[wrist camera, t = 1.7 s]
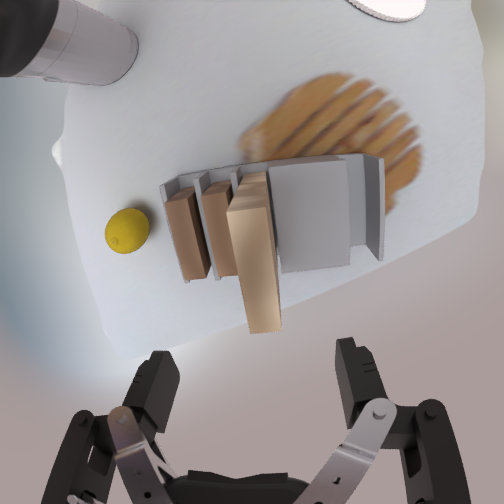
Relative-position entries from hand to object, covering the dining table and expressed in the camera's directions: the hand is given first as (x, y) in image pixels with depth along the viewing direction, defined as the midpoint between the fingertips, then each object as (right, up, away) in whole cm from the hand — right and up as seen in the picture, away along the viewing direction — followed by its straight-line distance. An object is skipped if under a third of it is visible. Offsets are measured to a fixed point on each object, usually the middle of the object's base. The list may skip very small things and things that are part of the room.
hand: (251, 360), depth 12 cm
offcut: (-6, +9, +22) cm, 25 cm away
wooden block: (+1, +10, +21) cm, 24 cm away
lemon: (-16, +10, +24) cm, 31 cm away
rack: (+3, +11, +23) cm, 25 cm away
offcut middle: (-3, +10, +22) cm, 24 cm away
